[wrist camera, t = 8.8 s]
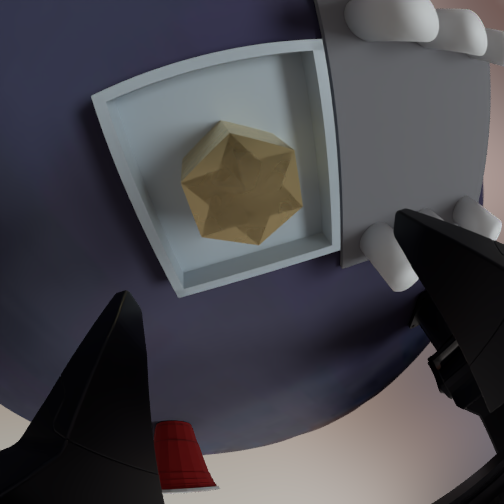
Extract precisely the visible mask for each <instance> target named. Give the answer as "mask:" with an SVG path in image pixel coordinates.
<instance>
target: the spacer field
mask: <svg viewBox="0 0 504 504" xmlns="http://www.w3.org/2000/svg"><path fill="white" fill-rule="evenodd" d="M314 3H315V8H316V12H317V16H318V21H319V26H320V30H321V35H322V41H323V46H324V51H325V57H326V63H327V69H328V76H329V83H330V90H331V97H332V105H333V114H334V123H335V133H336V145H337V157H338V173H339V193H340V234H341V250H340V266H341V268H342V269H344V268H347V267H350V266H352V265H355V264H358V263H361V262H364V261H367V260H369V261H370V262H371V263H372V264H373V266H374V267H375V268H376V269H377V271H378V272H379V273H380V274H381V276H382V277H383V278H384V280H385V281H386V282H387V284H388V285H389V286H390V287H391V289H392V290H393V291H395V292H401V291H404V290H406V289H408V288H409V287H411V286H412V285H413V284H414V283H415V282H416V281H417V280H418V279H419V278H418V276H417V275H416V273H415V272H414V270H413V268H412V267H411V265H410V263H409V261H408V259H407V258H406V256H405V254H404V252H403V251H402V249H401V247H400V246H399V244H398V242H397V240H396V239H395V237H394V233H393V229H394V220H395V213H396V212H397V211H398V210H401V209H404V208H407V209H411V210H414V211H417V212H420V213H423V214H426V215H429V216H432V217H435V218H438V219H440V220H443V221H446V222H449V223H451V224H454V225H457V226H460V227H462V228H465V229H467V230H470V231H473V232H475V233H478V234H480V235H483V236H485V237H487V238H490V239H492V240H495V241H496V240H497V238H498V236H499V234H500V231H501V227H502V222H501V221H500V220H499V219H498V218H497V217H495V216H494V215H493V214H492V213H490V212H489V211H488V210H486V209H485V208H484V207H483V206H481V205H480V204H479V203H478V201H479V196H480V191H481V186H482V181H483V175H484V169H485V162H486V155H487V146H488V137H489V124H490V66H489V63H493V64H497V65H501V66H504V31H500V30H495V29H488V28H484V25H483V23H482V21H481V20H480V18H479V17H478V16H477V15H476V13H474V12H473V11H471V10H468V9H435V8H434V6H433V4H432V3H431V1H430V0H314Z"/></svg>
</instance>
